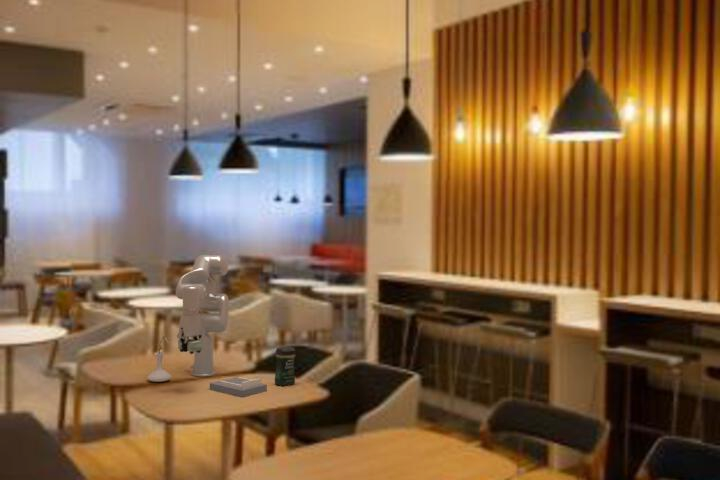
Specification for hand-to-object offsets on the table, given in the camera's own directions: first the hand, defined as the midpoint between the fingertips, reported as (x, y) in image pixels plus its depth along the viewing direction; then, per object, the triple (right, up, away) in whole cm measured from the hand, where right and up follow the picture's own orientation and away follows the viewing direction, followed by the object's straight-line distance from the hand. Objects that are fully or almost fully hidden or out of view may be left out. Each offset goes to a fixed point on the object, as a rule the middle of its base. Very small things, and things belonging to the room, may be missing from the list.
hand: (190, 350), depth 342 cm
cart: (0, -1, 0) cm, 1 cm away
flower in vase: (-20, -18, +20) cm, 33 cm away
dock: (+22, -20, +4) cm, 30 cm away
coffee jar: (+43, -20, +18) cm, 50 cm away
